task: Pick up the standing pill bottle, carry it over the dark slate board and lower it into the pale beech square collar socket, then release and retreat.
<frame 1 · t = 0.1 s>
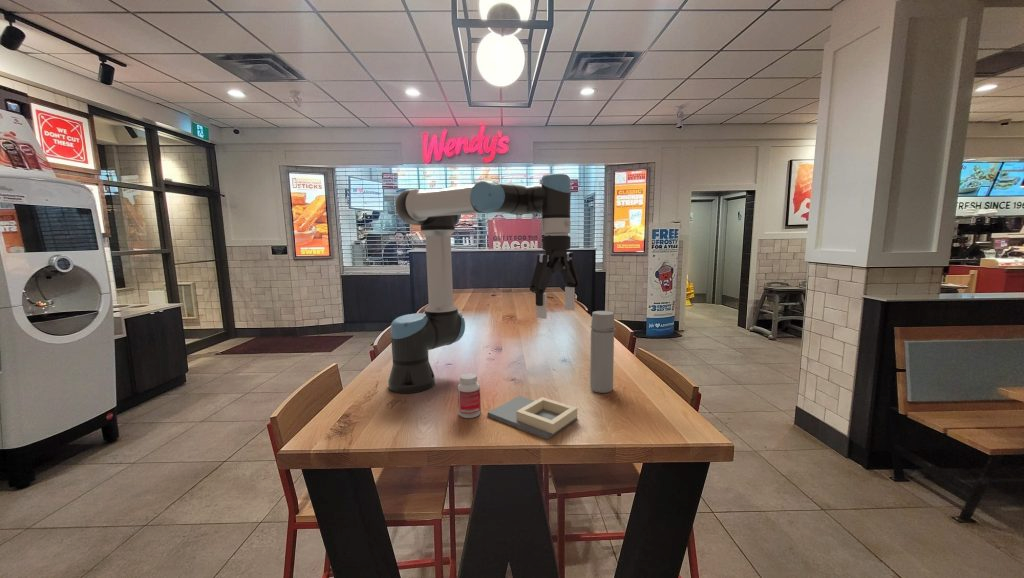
hand: (556, 313, 105), 28 cm above the table, fingers open, 13 cm apart
water bottle: (603, 389, 124), on the table
socket board: (532, 417, 105), on the table
pill bottle: (469, 414, 108), on the table
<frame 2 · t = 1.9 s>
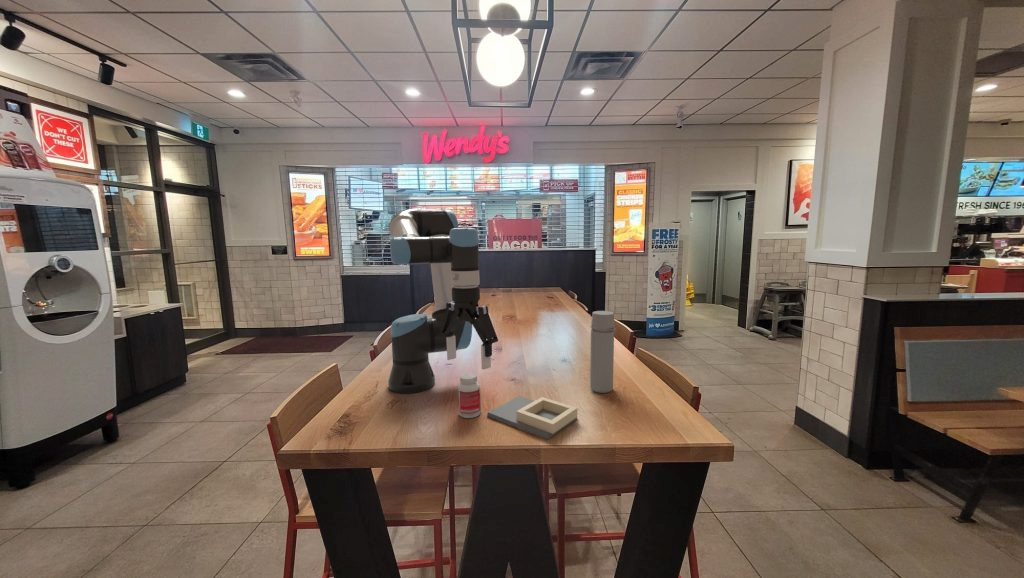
hand: (468, 363, 106), 15 cm above the table, fingers open, 13 cm apart
nothing on the table moved.
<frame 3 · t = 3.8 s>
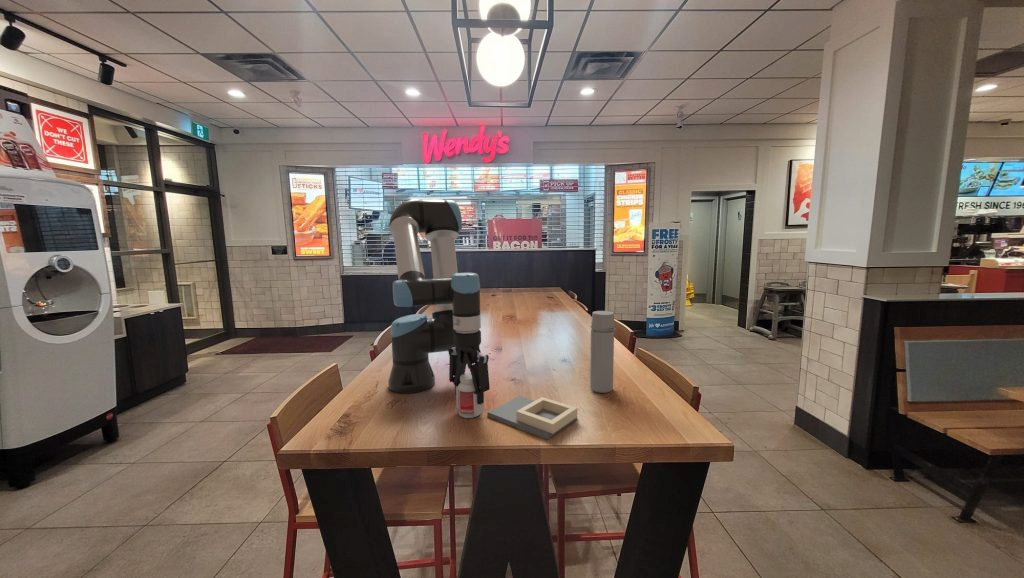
hand: (469, 410, 108), 1 cm above the table, fingers closed on pill bottle, 6 cm apart
pill bottle: (469, 414, 108), on the table, touching gripper
everything else where it was.
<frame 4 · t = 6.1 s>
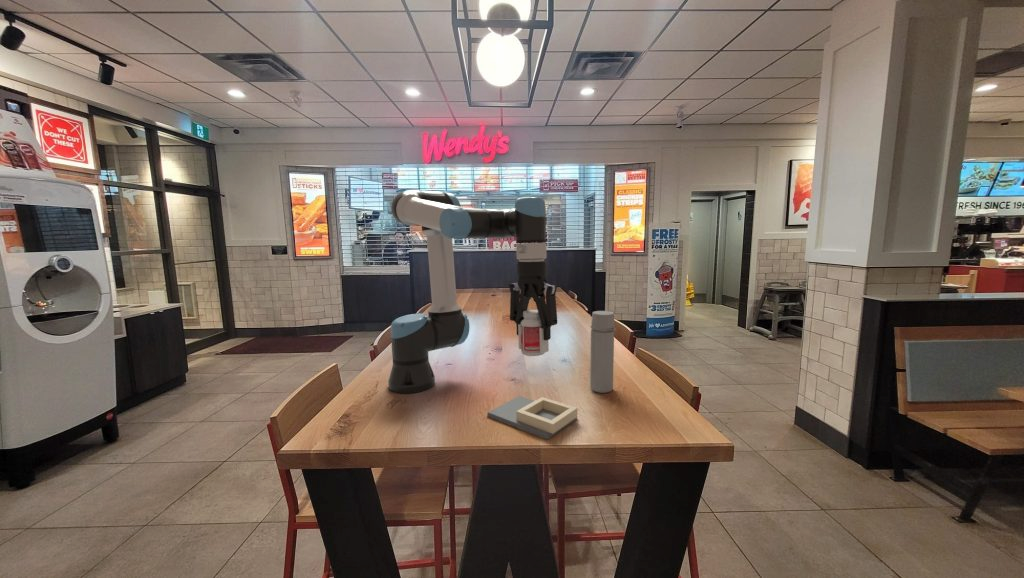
hand: (533, 349, 100), 20 cm above the table, fingers closed on pill bottle, 6 cm apart
pill bottle: (533, 354, 100), point 19 cm above the table, touching gripper
everything else where it was.
when the fingers open (4 cm above the table, at t = 8.7 s): pill bottle drops 2 cm, resting on socket board.
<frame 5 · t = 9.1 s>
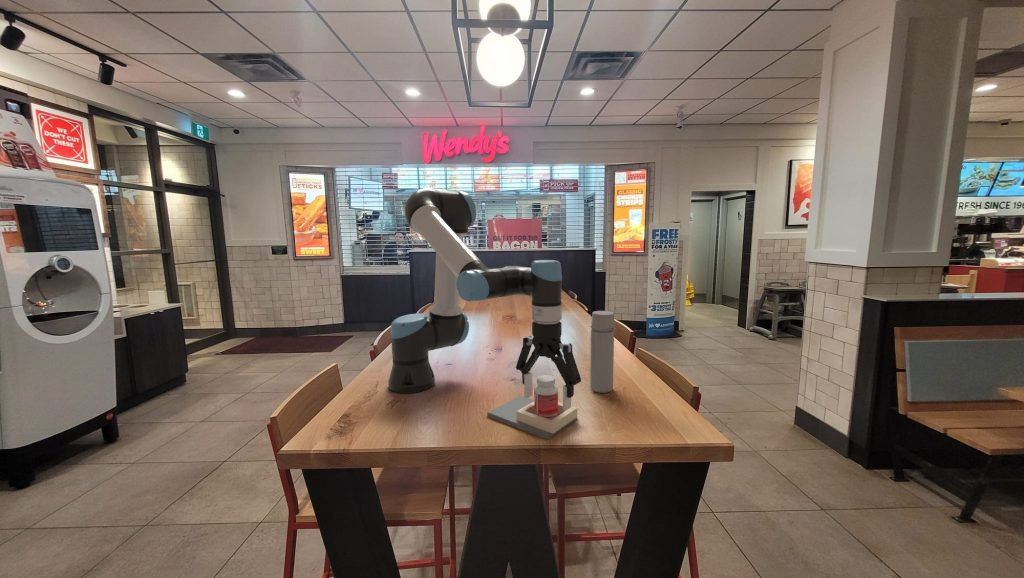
hand: (547, 402, 101), 6 cm above the table, fingers open, 11 cm apart
pill bottle: (546, 419, 102), point 1 cm above the table, touching socket board
everything else where it was.
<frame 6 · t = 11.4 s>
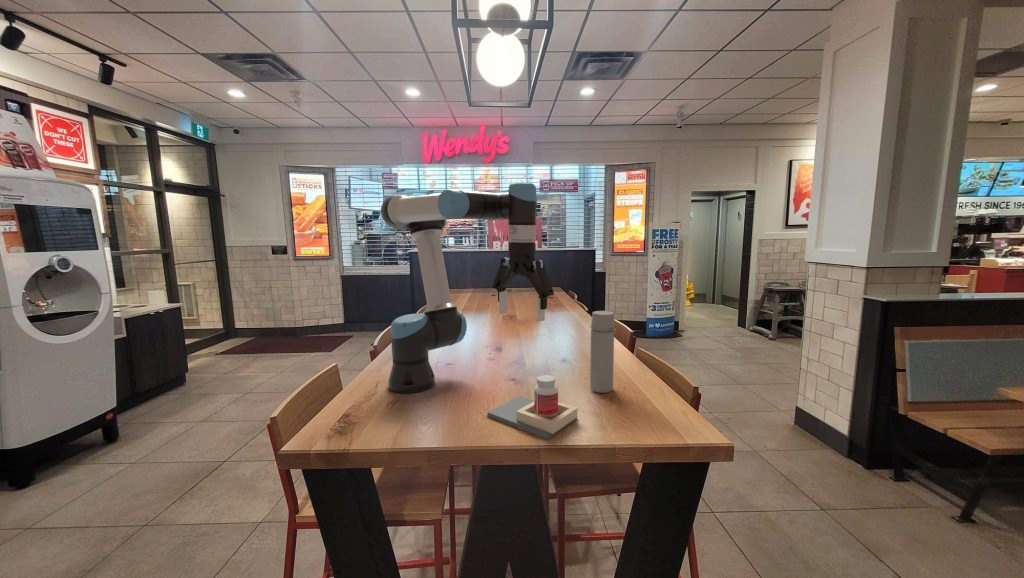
hand: (521, 317, 109), 26 cm above the table, fingers open, 13 cm apart
nothing on the table moved.
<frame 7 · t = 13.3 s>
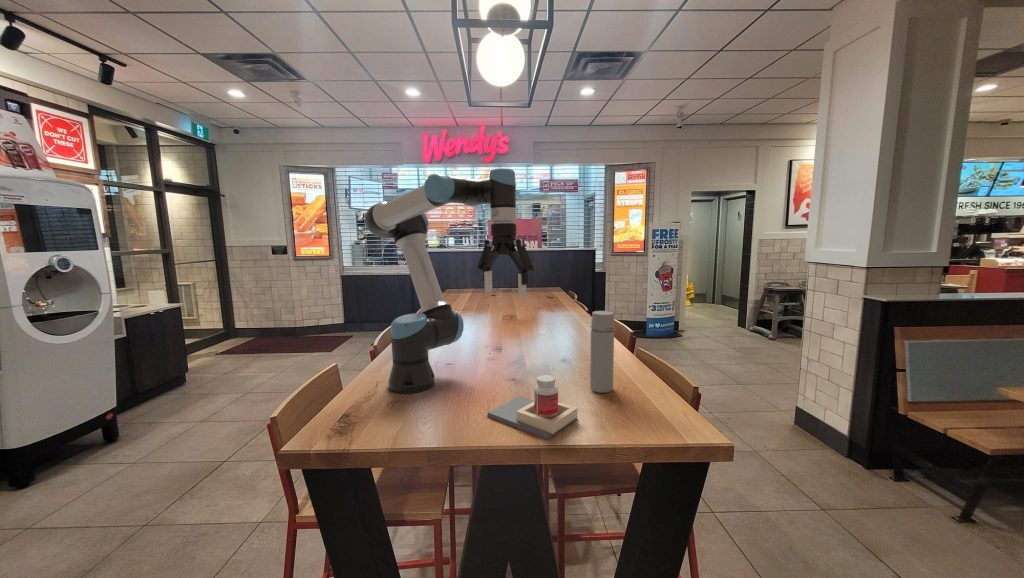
hand: (504, 293, 117), 32 cm above the table, fingers open, 13 cm apart
nothing on the table moved.
at the end: pill bottle 0.2 cm from the target spot on the socket board, point 1.0 cm above the socket board's base; pill bottle tilted 0°; the gripper is holding nothing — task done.
